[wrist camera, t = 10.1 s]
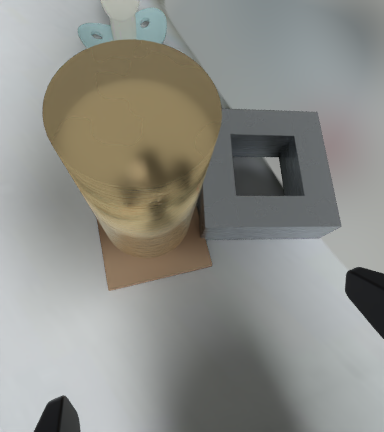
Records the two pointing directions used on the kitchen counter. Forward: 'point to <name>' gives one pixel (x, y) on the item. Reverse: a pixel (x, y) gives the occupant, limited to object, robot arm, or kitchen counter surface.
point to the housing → (291, 176)
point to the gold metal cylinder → (135, 138)
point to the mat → (154, 259)
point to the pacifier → (125, 24)
